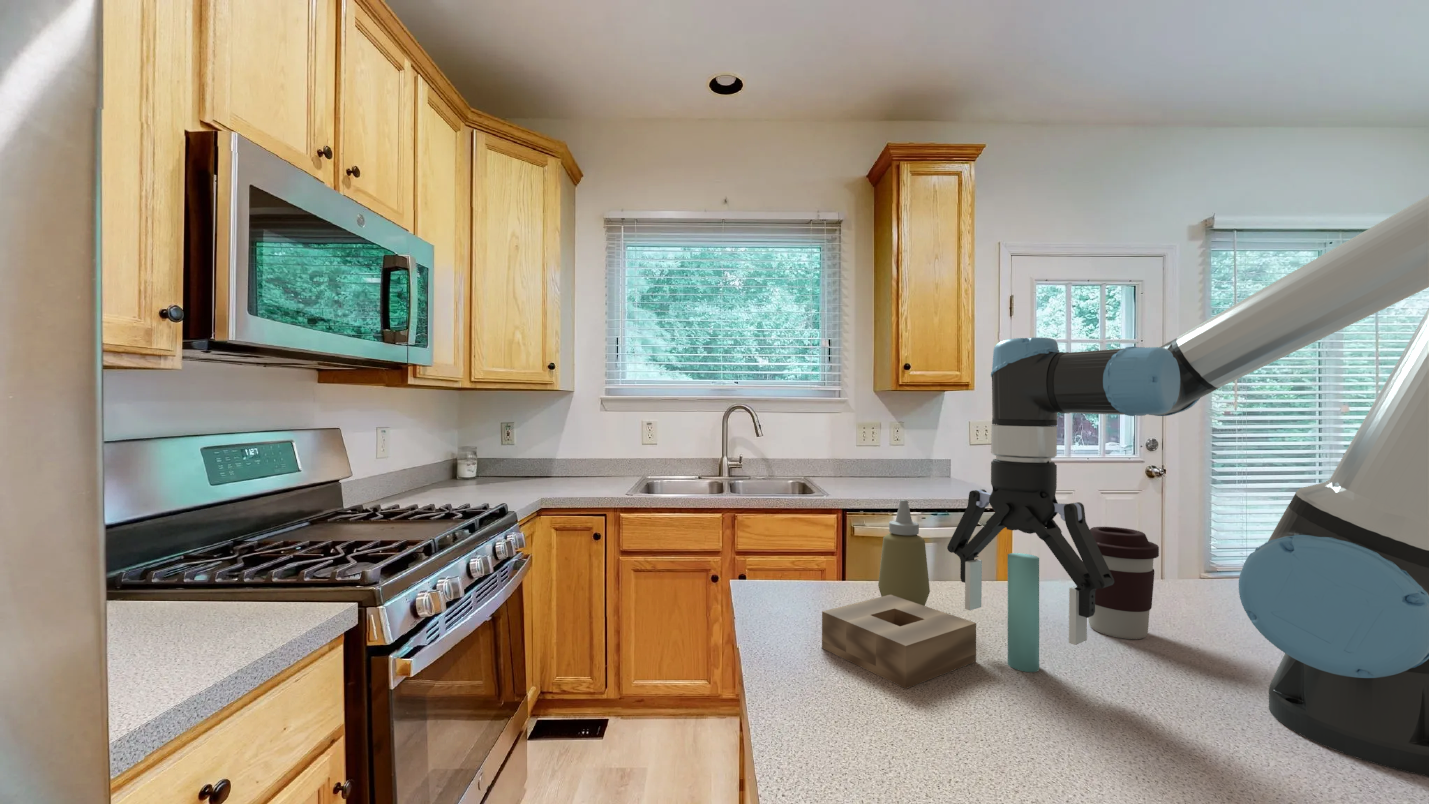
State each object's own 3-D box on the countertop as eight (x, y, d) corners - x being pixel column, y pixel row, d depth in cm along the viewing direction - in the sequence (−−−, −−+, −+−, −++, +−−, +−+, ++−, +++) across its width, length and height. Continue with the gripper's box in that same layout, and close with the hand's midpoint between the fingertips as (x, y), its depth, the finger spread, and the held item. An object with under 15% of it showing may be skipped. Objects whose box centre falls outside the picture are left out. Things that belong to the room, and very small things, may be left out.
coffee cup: (1132, 620, 92) (1132, 525, 92) (1175, 645, 82) (1175, 538, 82) (1066, 618, 93) (1065, 523, 93) (1100, 642, 83) (1100, 536, 83)
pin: (1044, 667, 75) (1044, 557, 75) (1029, 674, 73) (1029, 561, 73) (1017, 657, 78) (1017, 551, 78) (1001, 664, 76) (1001, 555, 76)
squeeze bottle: (937, 620, 92) (937, 504, 92) (885, 619, 92) (885, 504, 92) (920, 603, 100) (920, 497, 100) (872, 602, 100) (873, 496, 100)
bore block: (976, 661, 76) (976, 623, 76) (905, 688, 69) (905, 645, 69) (890, 628, 88) (890, 594, 88) (821, 648, 80) (822, 611, 81)
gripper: (1148, 466, 67) (1146, 651, 67) (954, 451, 88) (953, 592, 88) (1118, 469, 63) (1116, 667, 63) (922, 452, 84) (921, 600, 84)
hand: (1021, 623), depth 76 cm, fingers open, 13 cm apart
